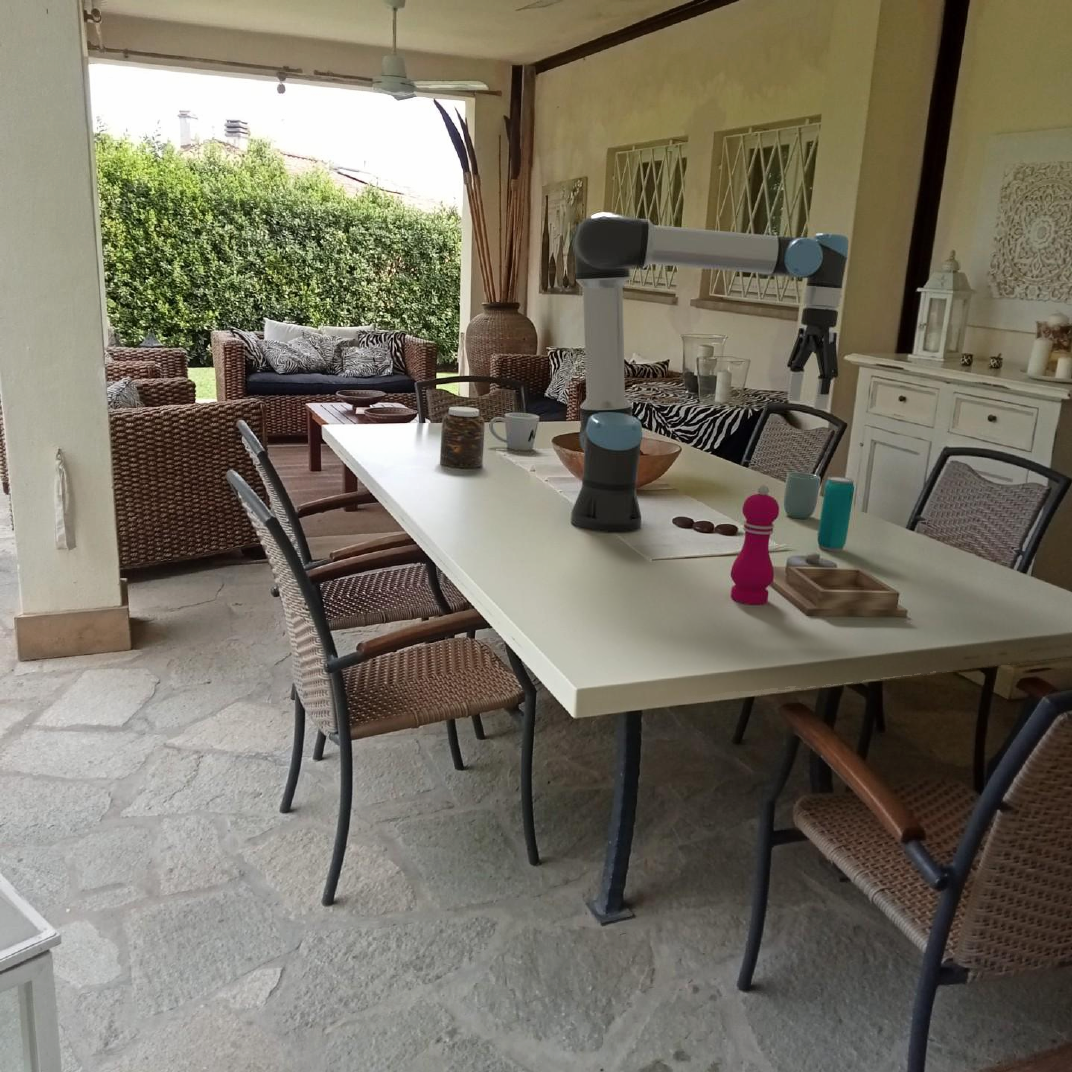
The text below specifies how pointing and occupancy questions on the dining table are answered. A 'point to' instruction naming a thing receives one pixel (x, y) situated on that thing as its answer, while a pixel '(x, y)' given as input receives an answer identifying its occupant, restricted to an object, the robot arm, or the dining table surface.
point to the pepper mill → (755, 550)
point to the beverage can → (835, 513)
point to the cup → (801, 494)
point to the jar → (462, 438)
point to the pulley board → (834, 589)
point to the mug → (518, 430)
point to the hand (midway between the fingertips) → (806, 404)
